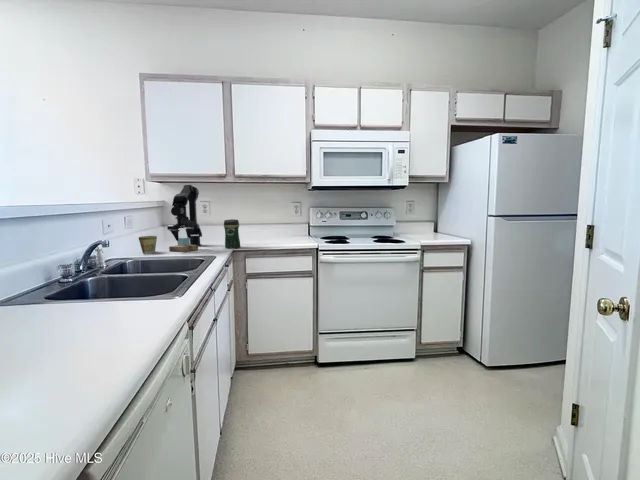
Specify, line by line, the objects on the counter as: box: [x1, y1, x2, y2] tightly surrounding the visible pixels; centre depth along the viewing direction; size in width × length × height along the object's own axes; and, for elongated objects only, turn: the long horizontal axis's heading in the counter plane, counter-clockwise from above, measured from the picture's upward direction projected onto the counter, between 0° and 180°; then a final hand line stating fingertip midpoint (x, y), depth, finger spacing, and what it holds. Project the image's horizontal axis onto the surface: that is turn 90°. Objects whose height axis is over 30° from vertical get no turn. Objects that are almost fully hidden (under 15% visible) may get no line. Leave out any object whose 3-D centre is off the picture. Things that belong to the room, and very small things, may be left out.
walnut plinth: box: [168, 244, 199, 253], centre depth 221 cm, size 12×12×3 cm
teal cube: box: [177, 236, 190, 246], centre depth 221 cm, size 5×5×5 cm
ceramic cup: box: [138, 235, 158, 254], centre depth 216 cm, size 13×10×10 cm
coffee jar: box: [223, 218, 241, 249], centre depth 228 cm, size 10×8×19 cm
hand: (183, 240), depth 221 cm, fingers open, 9 cm apart
